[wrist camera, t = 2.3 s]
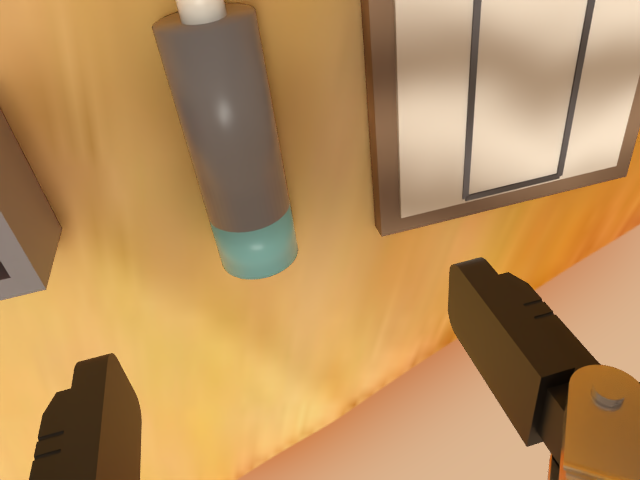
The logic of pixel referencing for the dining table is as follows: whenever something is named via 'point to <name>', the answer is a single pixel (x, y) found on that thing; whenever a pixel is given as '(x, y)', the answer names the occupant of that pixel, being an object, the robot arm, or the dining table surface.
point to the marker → (230, 132)
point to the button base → (23, 223)
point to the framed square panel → (496, 102)
